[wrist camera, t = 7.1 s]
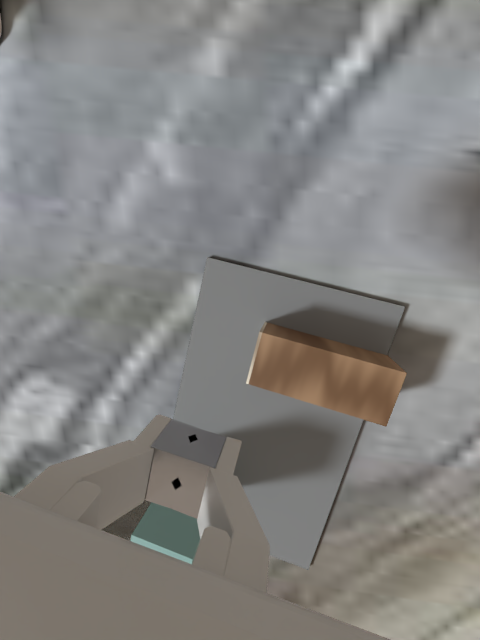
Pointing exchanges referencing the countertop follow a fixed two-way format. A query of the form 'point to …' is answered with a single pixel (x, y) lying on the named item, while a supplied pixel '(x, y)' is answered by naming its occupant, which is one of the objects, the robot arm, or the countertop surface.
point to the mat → (276, 395)
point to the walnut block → (326, 373)
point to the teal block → (168, 532)
